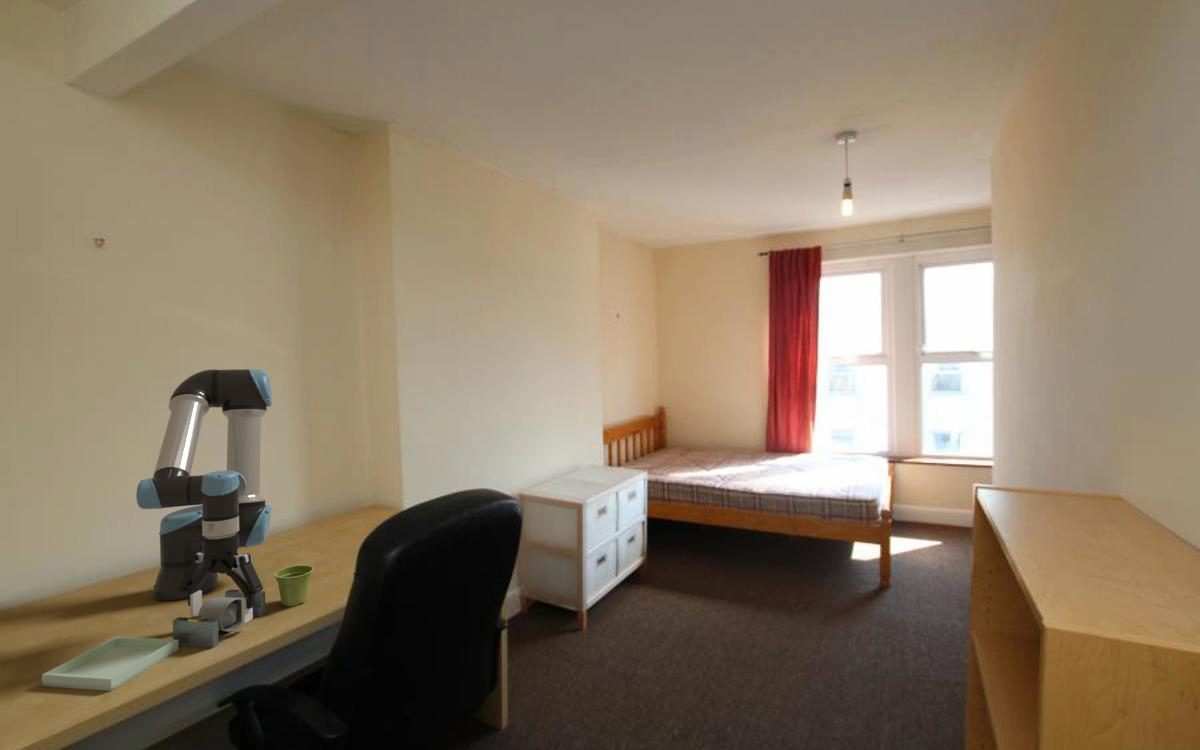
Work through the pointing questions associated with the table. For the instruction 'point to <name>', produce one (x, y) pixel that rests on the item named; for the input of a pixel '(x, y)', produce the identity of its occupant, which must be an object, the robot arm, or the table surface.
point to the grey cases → (209, 624)
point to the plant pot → (293, 584)
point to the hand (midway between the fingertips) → (221, 619)
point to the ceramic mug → (223, 612)
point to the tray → (110, 663)
